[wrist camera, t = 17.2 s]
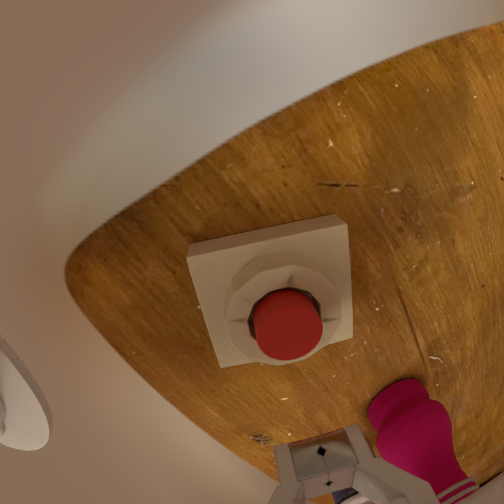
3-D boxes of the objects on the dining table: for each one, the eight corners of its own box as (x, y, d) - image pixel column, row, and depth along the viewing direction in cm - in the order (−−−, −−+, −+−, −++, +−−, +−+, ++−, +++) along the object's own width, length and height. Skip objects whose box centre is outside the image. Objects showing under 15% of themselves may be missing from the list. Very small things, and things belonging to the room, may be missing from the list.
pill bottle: (327, 470, 30) (347, 537, 21) (316, 452, 28) (339, 528, 19) (372, 452, 30) (399, 517, 21) (367, 432, 28) (399, 505, 19)
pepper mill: (428, 399, 27) (512, 537, 9) (371, 432, 28) (436, 583, 10) (421, 361, 25) (532, 527, 6) (353, 401, 26) (434, 589, 7)
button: (259, 347, 18) (262, 366, 16) (247, 297, 16) (250, 315, 15) (316, 333, 18) (325, 352, 16) (311, 282, 16) (320, 299, 15)
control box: (219, 348, 22) (221, 387, 18) (189, 243, 19) (182, 271, 15) (342, 320, 22) (363, 354, 18) (334, 213, 19) (360, 233, 15)
